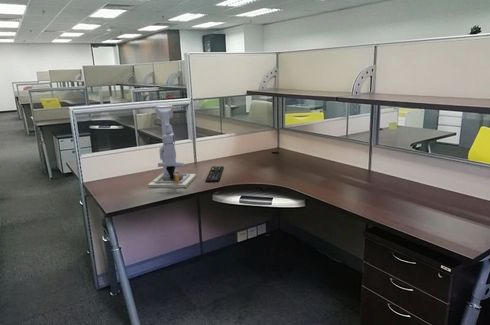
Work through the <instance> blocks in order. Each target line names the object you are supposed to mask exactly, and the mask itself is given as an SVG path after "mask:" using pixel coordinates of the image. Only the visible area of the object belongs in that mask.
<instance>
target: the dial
mask: <svg viewBox="0 0 490 325" xmlns="http://www.w3.org/2000/svg"><path fill="white" fill-rule="evenodd" d="M182 174H183V173H178V172H175V170H174V174H173V176H174V179H173V180H170V175H169V174H167V175H164V176H163V177H162V180H163V181H179V180H182V179H183V175H182Z"/></svg>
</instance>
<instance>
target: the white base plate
mask: <svg viewBox="0 0 490 325" xmlns="http://www.w3.org/2000/svg"><path fill="white" fill-rule="evenodd" d="M181 174H182V175H183V179H182V180H179V181H163V180H162V177H163V176H164V175H167V174H162V173H160V175H158V176H157V177H156V178H155V179H153V180H152V181H150V182H149V183H148V184H147V187H148V188H187V187H188V186H189V185H190V184H191V182H192V181H193V180H194V179H195V178H196V177H197V174H196V173H181Z"/></svg>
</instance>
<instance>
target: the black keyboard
mask: <svg viewBox="0 0 490 325" xmlns="http://www.w3.org/2000/svg"><path fill="white" fill-rule="evenodd" d="M223 170H224V166H223V165H220V166H218V165H217V166H215V165H213V166H211V168H210V170H209V172H208V174H207V176H206V179H205V183H219V181H220V180H221V177H222V173H223Z"/></svg>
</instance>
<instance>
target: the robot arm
mask: <svg viewBox="0 0 490 325" xmlns="http://www.w3.org/2000/svg"><path fill="white" fill-rule="evenodd" d="M173 108H174V107H173V105H172V104H170V105H168V104H167V105H156V106H155V115H156V118H157V119H158V120H160V122H161V132H162V136H161V138H162V145H161V146H160V147H159V158H160V161H162V162H158V163H157V168H161V167H162V171H163V172H162V173H161V174H169V175H170V180H173V179H174V176H173V174H174V170H175V172H176V173H178V172H179V170H178V169H177V168H179V167H180V168H184V166H185V165H184V162H177V152H176V146H175V144H176V137H175V133H174V132H173V125H172V124H171V123H170V119H173V117H174V116H173V115H174V109H173Z"/></svg>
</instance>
